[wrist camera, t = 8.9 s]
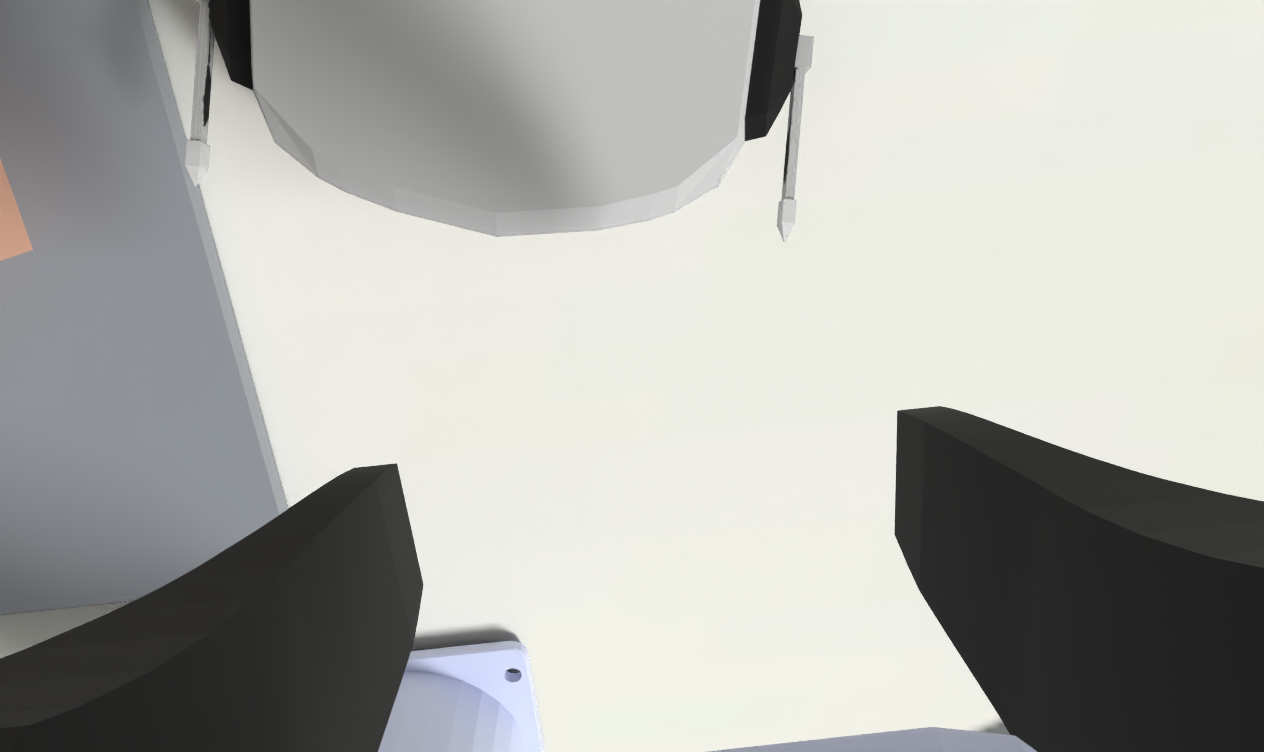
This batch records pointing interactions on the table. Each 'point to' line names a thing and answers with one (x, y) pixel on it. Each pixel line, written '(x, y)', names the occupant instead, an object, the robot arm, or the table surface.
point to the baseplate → (113, 325)
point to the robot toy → (513, 101)
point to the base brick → (11, 222)
